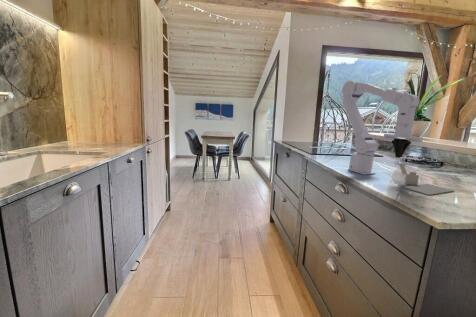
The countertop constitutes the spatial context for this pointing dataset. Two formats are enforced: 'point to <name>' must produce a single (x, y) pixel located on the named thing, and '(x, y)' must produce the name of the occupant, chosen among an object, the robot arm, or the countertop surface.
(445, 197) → the countertop surface
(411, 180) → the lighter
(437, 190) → the mat
